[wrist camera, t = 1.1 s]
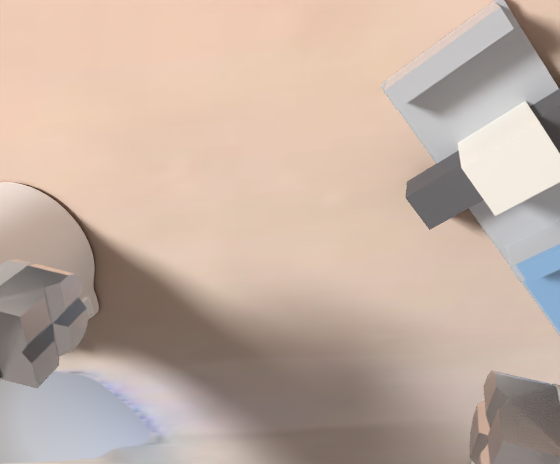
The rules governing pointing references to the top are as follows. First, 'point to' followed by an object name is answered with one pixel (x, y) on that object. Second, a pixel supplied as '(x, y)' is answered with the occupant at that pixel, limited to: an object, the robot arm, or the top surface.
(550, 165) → the grey post with collar
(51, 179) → the top surface
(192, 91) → the top surface
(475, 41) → the slider rail
